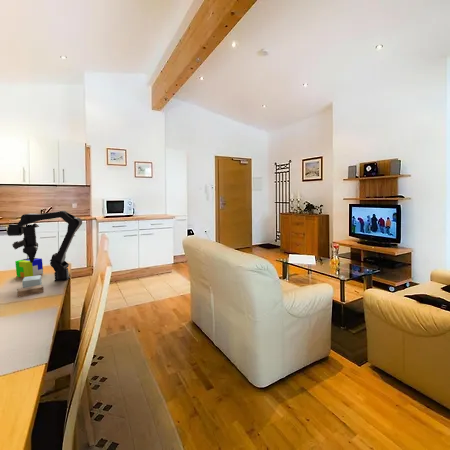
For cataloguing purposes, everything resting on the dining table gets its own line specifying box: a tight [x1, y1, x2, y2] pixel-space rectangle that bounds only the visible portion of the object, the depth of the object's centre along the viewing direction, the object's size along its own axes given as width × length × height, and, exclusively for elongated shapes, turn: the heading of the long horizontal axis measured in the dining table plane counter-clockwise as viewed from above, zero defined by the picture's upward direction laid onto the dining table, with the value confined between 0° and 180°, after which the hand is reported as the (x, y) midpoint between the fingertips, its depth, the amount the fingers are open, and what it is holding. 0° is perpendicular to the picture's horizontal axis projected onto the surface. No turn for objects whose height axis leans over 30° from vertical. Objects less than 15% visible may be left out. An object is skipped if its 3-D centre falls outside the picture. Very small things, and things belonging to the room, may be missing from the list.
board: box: [16, 284, 45, 298], centre depth 148 cm, size 11×5×3 cm, turn 128°
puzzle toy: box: [15, 257, 44, 278], centre depth 180 cm, size 10×10×10 cm
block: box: [21, 274, 43, 288], centre depth 158 cm, size 8×9×5 cm
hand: (32, 261), depth 166 cm, fingers open, 7 cm apart
